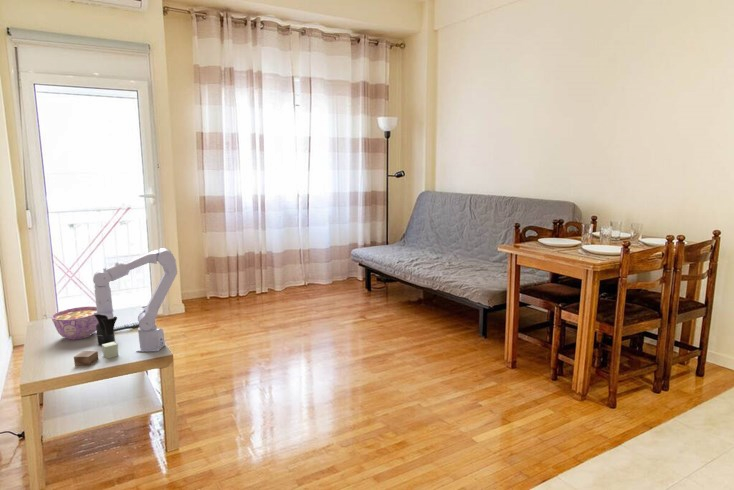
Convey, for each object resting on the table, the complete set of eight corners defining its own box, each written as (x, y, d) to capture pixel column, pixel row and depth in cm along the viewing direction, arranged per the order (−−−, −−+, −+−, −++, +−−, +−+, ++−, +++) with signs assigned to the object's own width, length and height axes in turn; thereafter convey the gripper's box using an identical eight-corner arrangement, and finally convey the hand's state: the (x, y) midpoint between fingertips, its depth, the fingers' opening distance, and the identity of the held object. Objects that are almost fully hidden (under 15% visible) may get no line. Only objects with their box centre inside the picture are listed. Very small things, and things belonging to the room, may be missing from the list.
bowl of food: (65, 348, 211) (62, 322, 209) (47, 338, 223) (43, 314, 221) (112, 334, 226) (109, 310, 224) (92, 326, 238) (89, 303, 236)
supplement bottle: (96, 346, 212) (92, 320, 210) (100, 340, 219) (97, 315, 217) (113, 344, 214) (110, 318, 212) (116, 338, 220) (113, 313, 218)
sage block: (114, 352, 204) (113, 341, 204) (118, 355, 201) (117, 344, 200) (103, 355, 201) (101, 344, 201) (106, 358, 198) (105, 347, 197)
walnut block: (98, 360, 197) (97, 350, 197) (89, 366, 192) (88, 356, 191) (84, 360, 198) (83, 350, 197) (75, 366, 192) (73, 356, 191)
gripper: (87, 298, 200) (91, 329, 202) (98, 305, 189) (101, 338, 192) (106, 295, 204) (109, 325, 207) (117, 301, 194) (120, 334, 196)
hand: (107, 331), depth 199 cm, fingers open, 7 cm apart
